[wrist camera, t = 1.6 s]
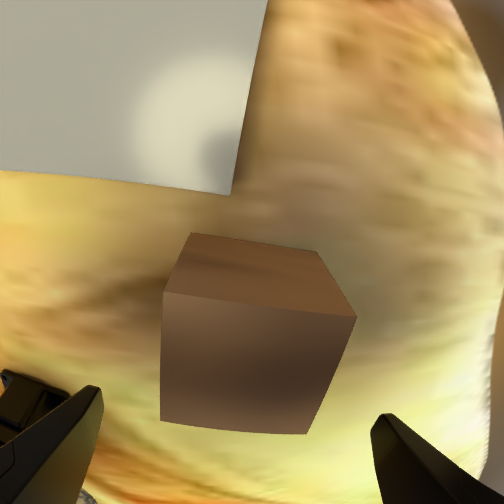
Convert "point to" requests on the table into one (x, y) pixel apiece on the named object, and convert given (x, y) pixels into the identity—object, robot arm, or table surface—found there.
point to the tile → (127, 88)
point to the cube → (249, 336)
